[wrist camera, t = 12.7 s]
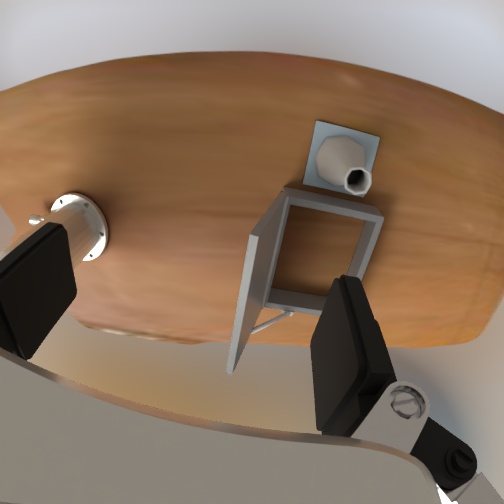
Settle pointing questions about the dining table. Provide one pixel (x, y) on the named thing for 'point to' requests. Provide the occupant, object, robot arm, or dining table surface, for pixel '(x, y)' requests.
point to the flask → (343, 164)
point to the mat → (332, 130)
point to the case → (360, 258)
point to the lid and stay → (256, 280)
